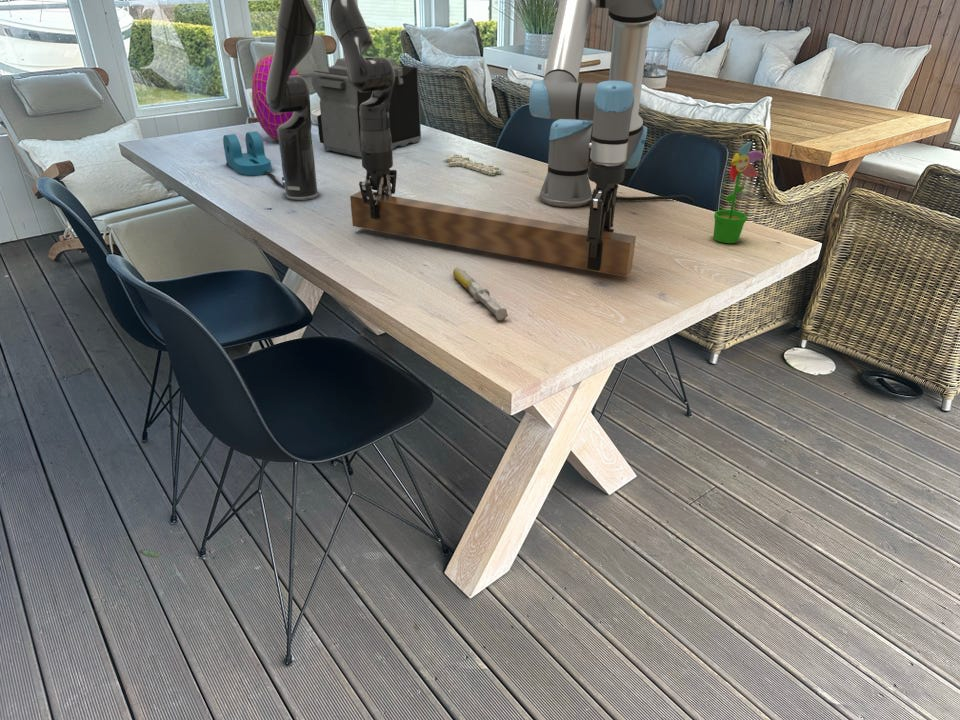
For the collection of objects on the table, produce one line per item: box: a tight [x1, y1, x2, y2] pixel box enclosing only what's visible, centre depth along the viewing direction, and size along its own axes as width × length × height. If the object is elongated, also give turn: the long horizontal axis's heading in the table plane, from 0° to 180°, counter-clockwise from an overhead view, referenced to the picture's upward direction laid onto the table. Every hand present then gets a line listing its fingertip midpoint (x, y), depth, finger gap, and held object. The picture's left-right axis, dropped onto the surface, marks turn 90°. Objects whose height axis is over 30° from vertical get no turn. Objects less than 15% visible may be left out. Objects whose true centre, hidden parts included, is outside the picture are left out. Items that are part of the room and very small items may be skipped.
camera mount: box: [222, 131, 272, 176], centre depth 226 cm, size 18×10×10 cm, turn 35°
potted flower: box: [713, 141, 766, 244], centre depth 170 cm, size 9×8×25 cm
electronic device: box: [310, 55, 422, 158], centre depth 250 cm, size 37×22×30 cm, turn 144°
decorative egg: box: [251, 54, 301, 141], centre depth 257 cm, size 19×19×30 cm
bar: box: [349, 190, 637, 278], centre depth 164 cm, size 72×5×8 cm, turn 65°
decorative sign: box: [445, 154, 501, 176], centre depth 234 cm, size 26×1×10 cm
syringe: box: [452, 266, 509, 321], centre depth 145 cm, size 25×4×3 cm, turn 21°
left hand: (380, 215), depth 174 cm, fingers closed on bar, 4 cm apart
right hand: (597, 264), depth 155 cm, fingers closed on bar, 5 cm apart
